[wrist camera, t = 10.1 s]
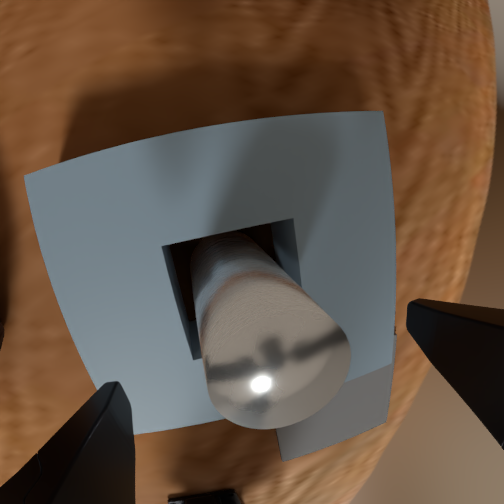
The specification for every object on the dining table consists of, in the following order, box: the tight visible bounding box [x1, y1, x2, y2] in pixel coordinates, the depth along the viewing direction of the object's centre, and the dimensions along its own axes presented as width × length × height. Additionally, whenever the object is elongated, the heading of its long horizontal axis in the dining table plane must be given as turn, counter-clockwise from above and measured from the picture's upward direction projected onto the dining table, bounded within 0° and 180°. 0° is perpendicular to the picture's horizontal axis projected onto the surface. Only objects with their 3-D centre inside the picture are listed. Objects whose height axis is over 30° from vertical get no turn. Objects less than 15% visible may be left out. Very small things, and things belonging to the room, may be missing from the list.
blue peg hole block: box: [24, 111, 396, 434], centre depth 15 cm, size 14×16×4 cm
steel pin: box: [190, 230, 351, 429], centre depth 13 cm, size 4×4×10 cm
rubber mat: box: [276, 333, 397, 462], centre depth 22 cm, size 10×10×1 cm
